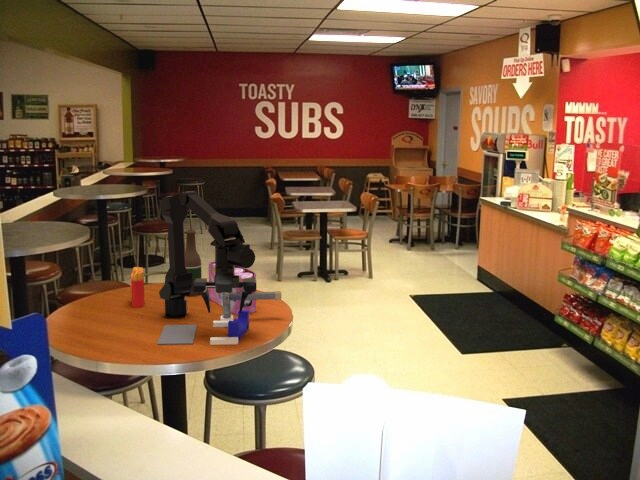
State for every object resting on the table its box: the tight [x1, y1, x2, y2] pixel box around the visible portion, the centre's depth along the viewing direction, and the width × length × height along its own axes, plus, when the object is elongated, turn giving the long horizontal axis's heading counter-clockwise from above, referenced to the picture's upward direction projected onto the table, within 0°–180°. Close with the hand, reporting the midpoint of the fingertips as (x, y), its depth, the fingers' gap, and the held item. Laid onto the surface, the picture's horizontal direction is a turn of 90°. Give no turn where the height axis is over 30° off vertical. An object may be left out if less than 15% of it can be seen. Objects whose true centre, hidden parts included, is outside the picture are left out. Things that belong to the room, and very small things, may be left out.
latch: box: [222, 290, 282, 318], centre depth 197 cm, size 3×19×9 cm, turn 99°
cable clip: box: [227, 310, 250, 342], centre depth 184 cm, size 12×4×6 cm, turn 171°
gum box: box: [208, 261, 257, 316], centre depth 211 cm, size 24×8×14 cm, turn 34°
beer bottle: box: [185, 229, 202, 297], centre depth 223 cm, size 8×8×24 cm
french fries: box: [130, 266, 145, 308], centre depth 209 cm, size 9×4×13 cm, turn 19°
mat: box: [156, 324, 198, 346], centre depth 182 cm, size 10×16×1 cm, turn 7°
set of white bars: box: [209, 314, 239, 346], centre depth 187 cm, size 8×24×2 cm, turn 7°
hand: (225, 312), depth 183 cm, fingers open, 9 cm apart
